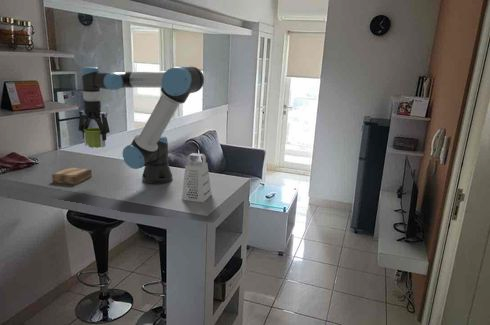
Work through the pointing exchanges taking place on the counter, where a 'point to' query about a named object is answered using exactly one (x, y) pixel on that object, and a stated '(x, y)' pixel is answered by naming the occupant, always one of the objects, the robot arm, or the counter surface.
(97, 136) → the plant pot
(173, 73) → the robot arm
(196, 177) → the grater
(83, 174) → the tan flat square block
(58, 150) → the counter surface
